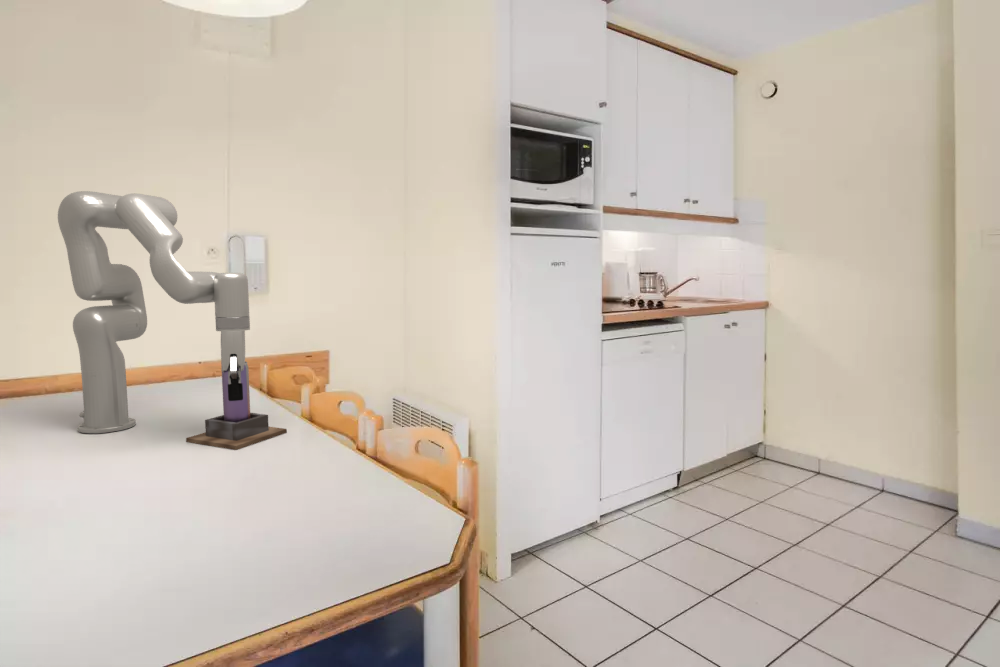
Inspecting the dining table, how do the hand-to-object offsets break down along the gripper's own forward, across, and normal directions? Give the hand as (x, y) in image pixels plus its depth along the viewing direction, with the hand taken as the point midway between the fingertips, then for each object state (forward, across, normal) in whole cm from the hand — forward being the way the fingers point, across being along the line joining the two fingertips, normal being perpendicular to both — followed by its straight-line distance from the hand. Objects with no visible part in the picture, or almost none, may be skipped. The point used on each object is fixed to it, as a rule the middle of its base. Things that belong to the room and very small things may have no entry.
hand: (236, 397), depth 145 cm
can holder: (+10, 0, 0) cm, 10 cm away
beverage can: (+7, 0, 0) cm, 7 cm away
